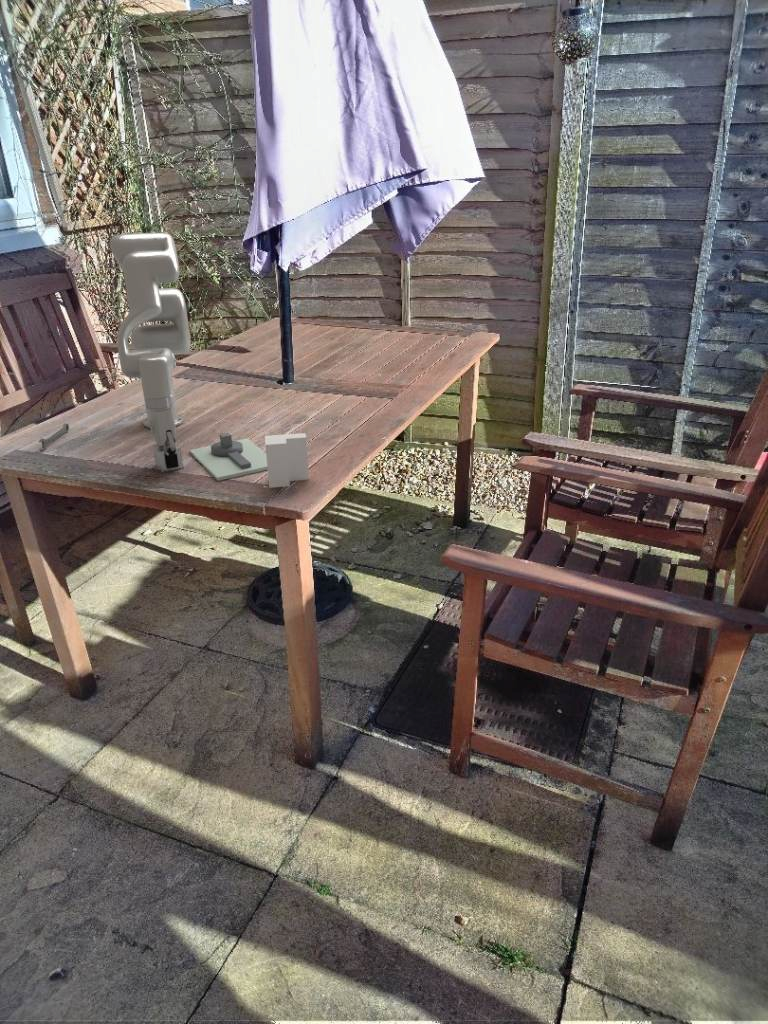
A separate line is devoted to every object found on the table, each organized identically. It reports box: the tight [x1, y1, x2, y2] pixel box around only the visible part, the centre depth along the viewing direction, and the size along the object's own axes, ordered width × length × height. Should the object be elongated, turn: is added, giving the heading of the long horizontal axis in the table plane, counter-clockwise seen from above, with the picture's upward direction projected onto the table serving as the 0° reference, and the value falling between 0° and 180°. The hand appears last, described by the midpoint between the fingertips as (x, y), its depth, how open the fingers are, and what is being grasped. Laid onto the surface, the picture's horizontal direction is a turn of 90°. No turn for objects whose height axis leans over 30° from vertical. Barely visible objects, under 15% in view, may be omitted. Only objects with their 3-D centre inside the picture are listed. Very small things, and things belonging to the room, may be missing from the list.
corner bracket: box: [264, 432, 310, 488], centre depth 188 cm, size 11×11×12 cm
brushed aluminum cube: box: [152, 442, 184, 473], centre depth 197 cm, size 6×6×6 cm
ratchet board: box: [189, 432, 268, 482], centre depth 201 cm, size 24×18×6 cm
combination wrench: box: [38, 423, 70, 452], centre depth 217 cm, size 4×1×20 cm
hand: (169, 463), depth 197 cm, fingers closed on brushed aluminum cube, 6 cm apart
